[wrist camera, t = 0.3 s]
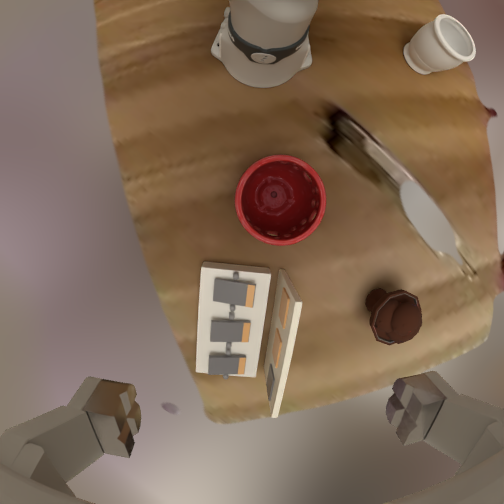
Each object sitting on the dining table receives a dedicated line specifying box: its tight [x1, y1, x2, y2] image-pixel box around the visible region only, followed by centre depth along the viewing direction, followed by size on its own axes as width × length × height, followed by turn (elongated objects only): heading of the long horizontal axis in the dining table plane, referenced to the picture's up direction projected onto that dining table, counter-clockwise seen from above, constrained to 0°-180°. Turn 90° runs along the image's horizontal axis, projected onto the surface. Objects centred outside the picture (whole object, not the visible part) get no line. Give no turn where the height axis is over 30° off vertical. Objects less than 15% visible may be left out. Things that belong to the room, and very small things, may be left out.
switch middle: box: [210, 320, 251, 342], centre depth 52 cm, size 4×7×1 cm, turn 83°
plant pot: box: [235, 155, 326, 246], centre depth 46 cm, size 13×13×12 cm
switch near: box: [213, 278, 256, 308], centre depth 50 cm, size 4×7×1 cm, turn 83°
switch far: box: [208, 355, 246, 375], centre depth 53 cm, size 4×7×1 cm, turn 83°
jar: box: [403, 14, 476, 74], centre depth 39 cm, size 11×10×15 cm
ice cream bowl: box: [365, 288, 422, 345], centre depth 51 cm, size 11×11×15 cm
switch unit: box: [196, 261, 302, 418], centre depth 49 cm, size 22×15×16 cm
